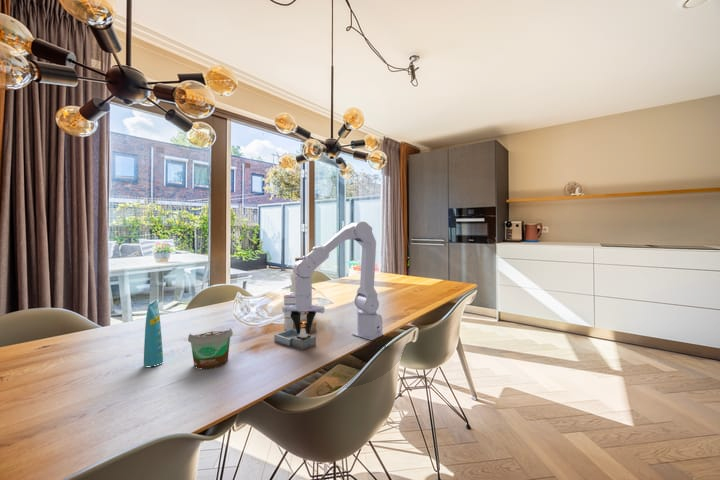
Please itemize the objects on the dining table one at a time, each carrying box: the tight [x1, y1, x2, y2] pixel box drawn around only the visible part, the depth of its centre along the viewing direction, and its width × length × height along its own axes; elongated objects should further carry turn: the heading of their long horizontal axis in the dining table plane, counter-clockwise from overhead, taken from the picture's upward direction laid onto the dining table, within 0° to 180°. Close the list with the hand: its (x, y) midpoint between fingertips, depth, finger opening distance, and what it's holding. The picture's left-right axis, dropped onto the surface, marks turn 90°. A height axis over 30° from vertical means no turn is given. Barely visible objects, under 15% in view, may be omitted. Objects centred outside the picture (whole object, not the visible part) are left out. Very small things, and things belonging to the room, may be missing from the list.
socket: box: [290, 334, 317, 351], centre depth 105 cm, size 6×6×3 cm
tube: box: [143, 298, 164, 367], centre depth 90 cm, size 7×5×19 cm, turn 26°
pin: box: [299, 321, 308, 340], centre depth 105 cm, size 3×3×8 cm
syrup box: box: [283, 291, 301, 331], centre depth 124 cm, size 6×6×14 cm
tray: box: [273, 329, 299, 347], centre depth 110 cm, size 8×8×2 cm
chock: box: [293, 319, 317, 335], centre depth 120 cm, size 7×6×4 cm
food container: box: [187, 327, 234, 370], centre depth 89 cm, size 12×6×10 cm, turn 117°
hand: (303, 332), depth 105 cm, fingers closed on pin, 3 cm apart
